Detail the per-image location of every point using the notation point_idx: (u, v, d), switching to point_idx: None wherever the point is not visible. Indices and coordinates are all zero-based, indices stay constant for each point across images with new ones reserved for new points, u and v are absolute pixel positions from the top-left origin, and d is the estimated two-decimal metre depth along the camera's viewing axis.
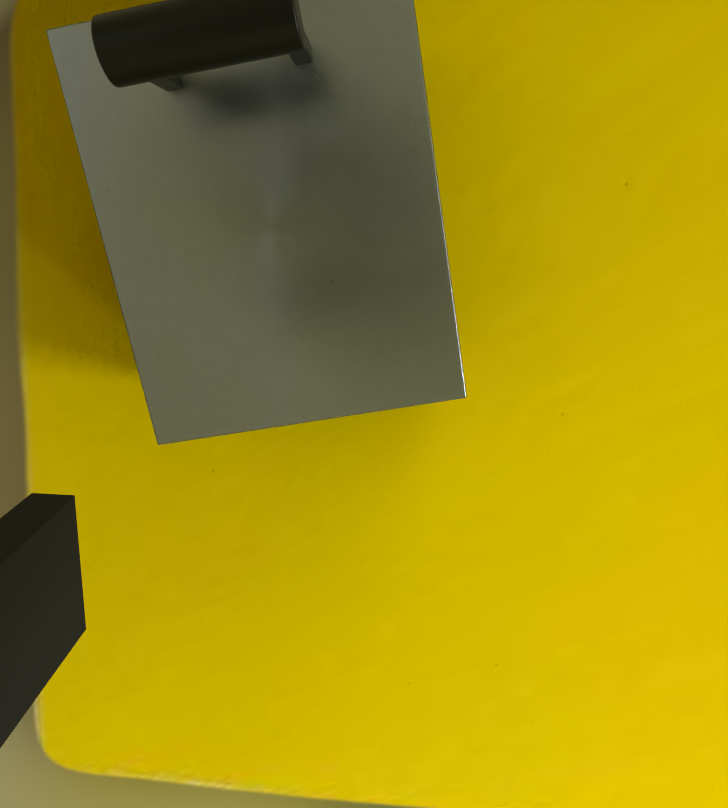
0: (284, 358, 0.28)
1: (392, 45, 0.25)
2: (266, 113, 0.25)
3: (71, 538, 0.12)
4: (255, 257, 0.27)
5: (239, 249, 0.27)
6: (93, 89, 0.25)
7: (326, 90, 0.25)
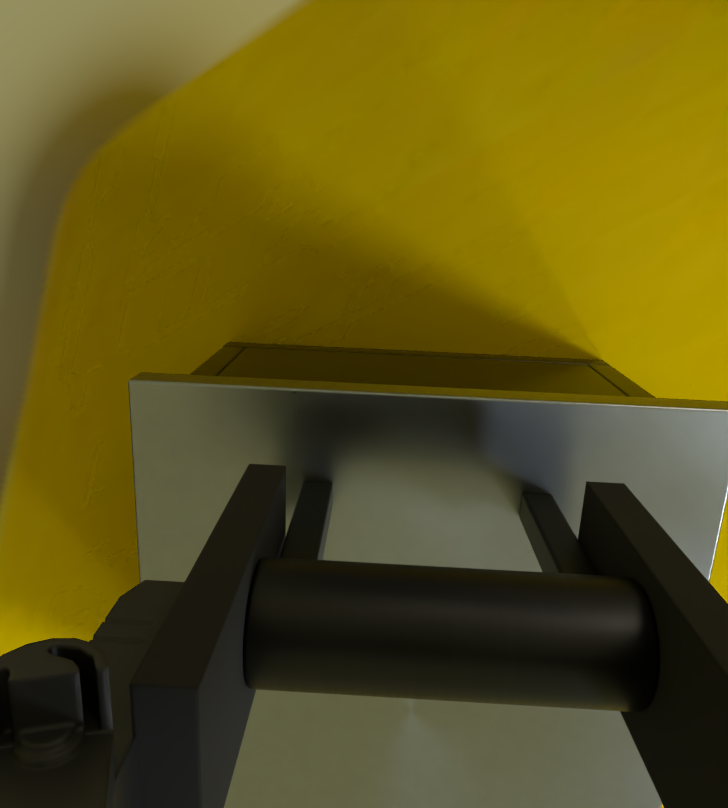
0: None
1: (679, 525, 0.15)
2: None
3: (283, 502, 0.13)
4: (376, 743, 0.17)
5: (355, 728, 0.17)
6: (185, 478, 0.15)
7: None
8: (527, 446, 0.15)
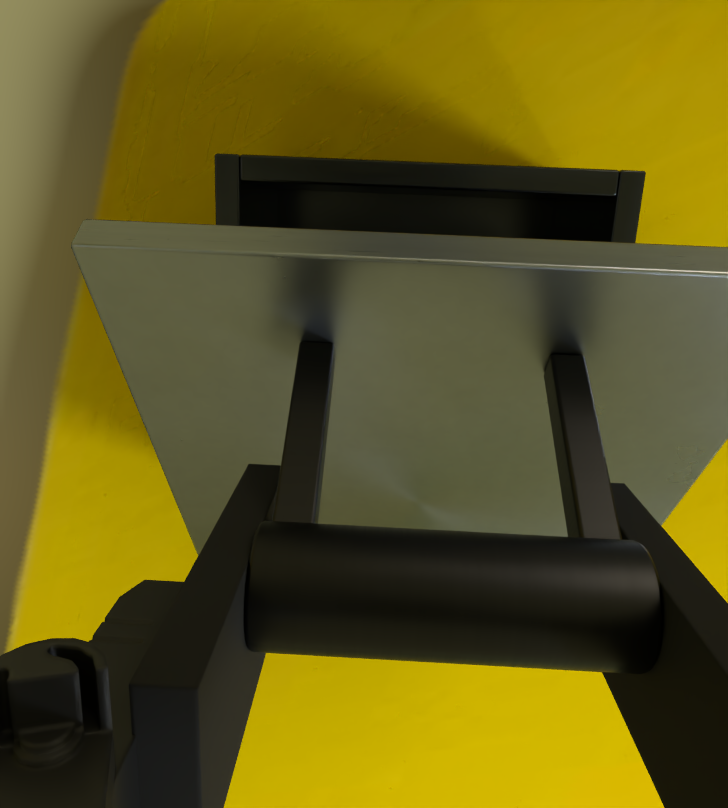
0: None
1: (722, 382, 0.14)
2: (465, 413, 0.15)
3: None
4: (386, 520, 0.19)
5: (366, 512, 0.19)
6: (165, 338, 0.14)
7: None
8: (564, 313, 0.12)
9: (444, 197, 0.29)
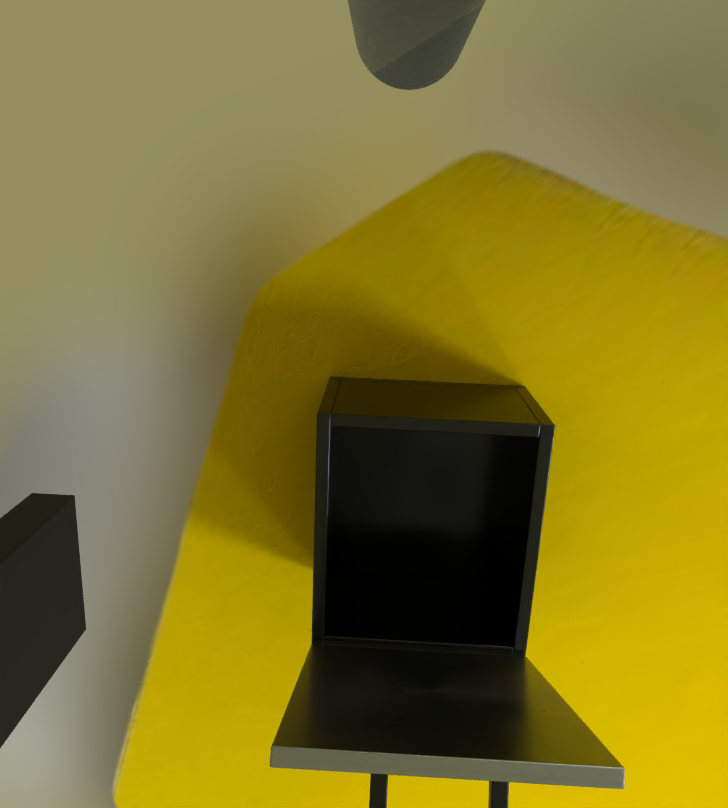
0: None
1: None
2: None
3: (70, 537, 0.12)
4: None
5: None
6: None
7: None
8: None
9: None
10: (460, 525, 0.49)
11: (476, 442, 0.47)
